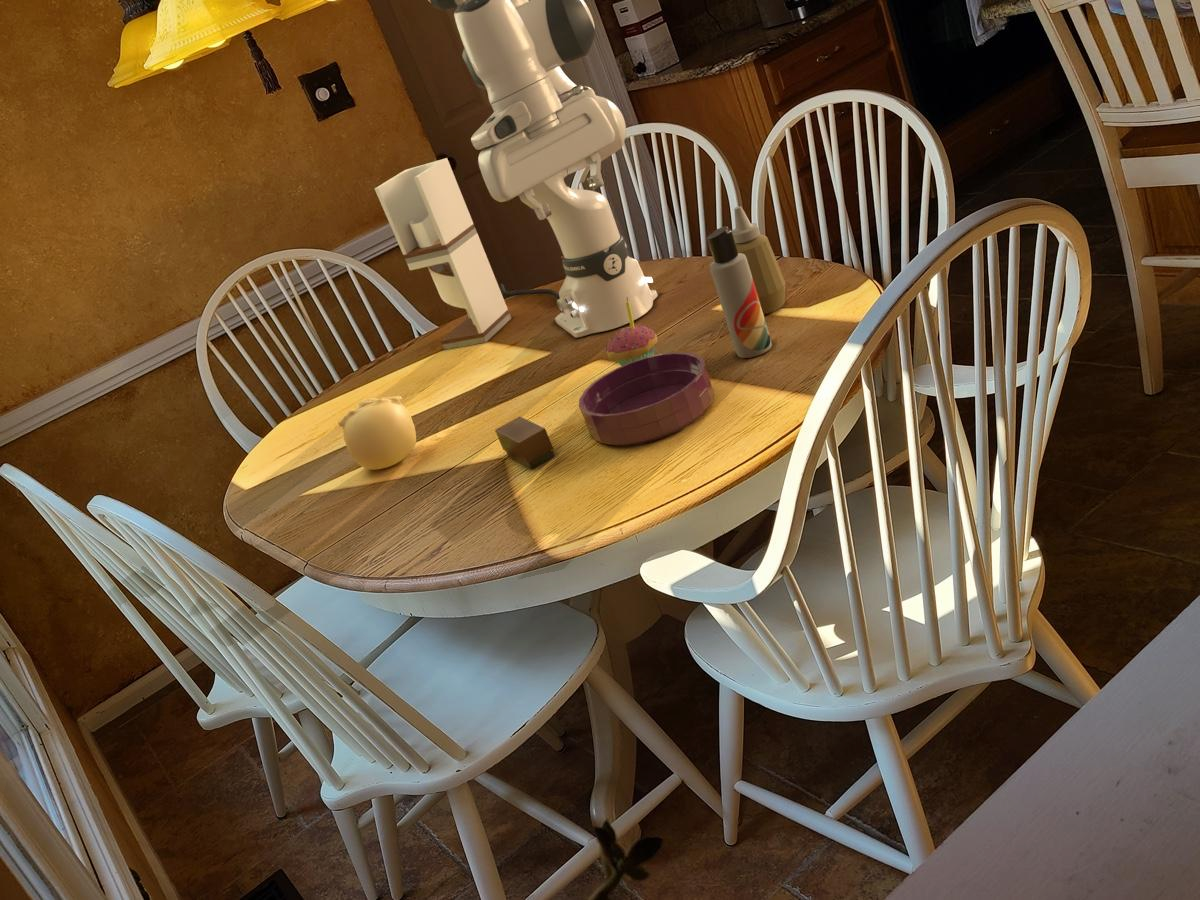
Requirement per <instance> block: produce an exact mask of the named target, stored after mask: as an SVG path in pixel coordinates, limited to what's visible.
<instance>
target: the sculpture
mask: <svg viewBox="0 0 1200 900" xmlns="http://www.w3.org/2000/svg"><path fill="white" fill-rule="evenodd" d="M337 425H339V426H340V427H341V428H342V432H343V434H342V435H343V440H344V443H345V446H346V449H347V451H348V453H349V455H350V456H351V458H352V459H353V460H354V461H355V462H356V464H357V465H359V466H360V467H362V468H363V469H367V470H374V471H375V470H382V469H386V468H389V467H392V466H394V465H396V464H398V463H400V462H401V461H403V460H405V458H406V457H408V456H409V455H410V454H411V453H412V452H413V450H414V448H415V446H416V443H417V431H416V427H415V424H414V421H413V418H412V416H411V414H410V412H409V410H408V409H407V408H406V407H405V406H404V405H403V397H402V396H401V395H393V396H384V397H381V398H378V397H377V398H376V397H368V398H364V399H363V400H361V401H360V402H359V403H358V405H356V406H355V407H354V408H353V409H351V410H349V411H348V412H347V413H346V414H345V415H344V416H342V417H341V418H340V419H339V420H338V421H337Z"/></svg>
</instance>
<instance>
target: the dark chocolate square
mask: <svg viewBox="0 0 1200 900" xmlns="http://www.w3.org/2000/svg"><path fill="white" fill-rule="evenodd" d="M494 432H495V434H496V436H497V438H498V442H499V443H500V445H501V448H502V450H503V451H505V453H506V455H507V456H508V457H509V458H510V459H513V460H514V461H516V462H518V463H520V464H522V465H523V466H525V467H526V468H529V469H530V470H532V469H534V468H536V467H538V466H540V465H542V464H543V463H545V462H547V461H549V460H550V459H552V458H554V457H555V454H554V452H553V450H554V447H553V444H552V441H551V440H550V437H549V434H548V432H547V430H546V428H545V427H543V426H541V425H539V424H537V423H535V422H532V421H531V420H529V419H526V418H524V417H522V416H517V417H516V418H514V419H512V420H511V421H508V422H507V423H505V424H503V425H501V426H500V427H497V428H496V429H495V430H494Z"/></svg>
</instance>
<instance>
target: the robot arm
mask: <svg viewBox="0 0 1200 900" xmlns="http://www.w3.org/2000/svg"><path fill="white" fill-rule="evenodd" d="M427 1H428V2H429V3H430V4H431V5H432V7H433V8H434V9H438V10H439V11H450V10H453V9H455V11H454V13H453V17H454V21H455V24H456V27H457V30H458V34H459V36H460V37H459V38H460V39H461V42H462V45H463V47H464V48H463V51H462V54H461V56H462V59H463V60H464V63H465V65H466V67H467V69H468V71H469V73H470V75H471V78H472V80H473V81H474V84H475V85H476V87H477V88H480V89H483V90H486V92H487V97H488V102H489V104H490V106H491V108H492V111H493V113H492V114H491V115H489V117H488V118H487V119H486V120H485V122H484V123H482V124H481V125H480V127H479V128H478V129H477V130H476V131H475V132H474V133H473V134H472V136H471V138H470V141H471V144H472V146H473V147H474V149H475V150H477V151H479V150H480V152H479V154H478V158H477V159H478V160H477V161H478V167H479V170H480V173H481V176H482V179H483V181H484V184H485V186H486V188H487V191H488V193H489V194H490V196H491V198H492V199H493V200H495V201H496V202H499V203H503V202H505V203H506V202H509V201H511V200H512V199H514V198H516V197H518V198H519V200H520V201H521V202H522V203H523V204H524V205H526V206H528V207H529V208H530V209H532V210H533V211H534V213H535V215H536V217H537V219H538V220H539V221H543V220H545V219H546V220H547V221H548V223H549V225H550V227H551V229H552V231H553V233H554V236H555V238H556V240H557V242H558V245H559V247H560V250H561V253H562V256H561V257H560V259H562V261H561V262H562V267H563V270H564V274H565V278H564V281H563V283H562V284H561V287H560V289H559V291H556V290H554V289H550V288H534V289H520V290H512V291H511V290H510V291H507V290H506V288H505V285H504V283H500V284H499V289H500V291H501V294H502V296H507V297H508V296H509V297H514V296H522V295H538V294H548V295H552V296H554V298H556V299H557V300H556V304H557V306H558V308H559V310H560V311H561V312H560V313H559V314H557V315H556V316H555V318H554V320H555V323H556V324H557V325H558V326H559V327H561V328H562V329H563V330H565V331H566V332H567V333H568V334H570V335H571V336H573V337H574V338H576V339H577V338H583V337H586V336H588V335H592V334H597V333H601V332H607V331H610V330H615V329H617V328H620V327H623V326H625V325H627V324H630V322H629V317H628V312H627V307H626V302H627V297H628V301H629V302H630V306H631V311H632V316H633V321H634V322H635V320H638V319H639V318H641V317H642V316H644V315H646V313H648V312H649V311H650V310H651V309H652V308H653V305H654V301H655V299H657V298H658V296H659V294H658V292H657V290H656V289H650V286H649V284H648V283H654V280H653V278H652V276H645V275H644V272H643V269H642V267H641V266H640V264H639V262H638V260H637V259H636V258H633V257H630V256H629V254H630V253H629V249H628V245H627V242H626V241H625V239H624V237H623V235H621V234H620V232H619V229H618V226H617V222H616V220H615V217H614V214H613V211H612V208H611V206H610V202H609V201H608V199H607V198H606V197H605V196H604V195H603V194H601V193H600V192H597V191H596V190H598V189H600V188H601V187H604V186H605V182H604V180H603V177H602V175H601V170H602V162H603V161H604V160H606V159H607V158H609V157H611V156H612V155H613V154H615V153H616V152H618V151H620V150H621V149H622V148H623V146H624V143H625V140H626V135H627V126H626V125H627V124H626V121H625V118H624V115H623V113H622V111H621V110H620V109H619V107H618V106H617V105H616V104H615V103H614V102H613V101H611V100H609V99H608V98H606V97H604V96H600V95H596V93H595V91H594V90H593V88H592V87H589V86H587V85H581V84H578V85H577V84H576V83H574V82H573V81H572V80H571V79H570V78H569V77H568V75H566V73H565V71H563V69H562V68H561V66H563V65H565V64H569V63H572V62H575V61H577V60H580V59H582V58H584V57H587V56H588V54H589V52H590V50H591V48H592V46H593V43H594V41H595V38H596V34H597V32H596V26H595V22H594V18H593V15H592V13H591V10H590V9H589V7H588V5H587V3H586V2H585V1H584V0H427ZM588 167H589V173H590V174H589V177H588V178H586V179H585V180H586V182H587V184H588V185H589V188H590V190H589V189H581V188H572V187H570V186H568V185H567V184H566V183H565V178H566V177H568V175H571V174H573V173H577V172H578V171H582V170H583V169H586V168H588ZM535 289H536V290H535Z"/></svg>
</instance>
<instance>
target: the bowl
mask: <svg viewBox="0 0 1200 900" xmlns="http://www.w3.org/2000/svg"><path fill="white" fill-rule="evenodd" d="M713 386H714V385H713V383H712V380H711V378H710V374H709V371H708V368H707V366H706V362H705V359H704V358H702V357H701V356H700V355H699V354H695V353H692V352H687V351H686V352H685V351H672V352H664V353H659V354H654V355H653V356H649V357H645V358H642V359H639V360H636V361H633V362H630V363H628V364H626V365H623V366H621V365H620V366H618V367H616V368H614V369H612V370H611V371H609V372H607V373H605V374H604V375H602V376H600V377H599V378H598V379H596V380H594V382H592V383H591V384H590V385H589V386H588V387H586V389H585V390H584V391H583V393H581V395H580V398H579V399H578V407H579V410H580V412H581V415H582V418H583V421H584V423H585V425H586V428H587V430H588V431H587V432H588V433H589V435H590V436H591V438H592V439H593V440H595V441H597V442H599V443H601V444H606V445H610V446H616V447H617V446H618V447H626V446H627V447H628V446H635V445H636V446H637V445H641V444H646V443H650V442H654V441H657V440H660V439H664V438H666V437H668V436H670V435H672V434H674V433H677V432H679V431H680V430H682V429H684V428H686V427H688V426H690V424H692V423H693V422H694V421H696V420H697V419H698V418H700V417H701V416H702V415H703V414H704V412H705V411H706V410H707V409H708V407H709V406H710V404H712V402H713V399H714V397H715V390H714V387H713Z"/></svg>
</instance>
